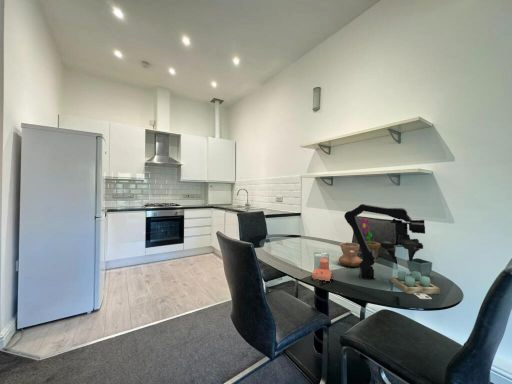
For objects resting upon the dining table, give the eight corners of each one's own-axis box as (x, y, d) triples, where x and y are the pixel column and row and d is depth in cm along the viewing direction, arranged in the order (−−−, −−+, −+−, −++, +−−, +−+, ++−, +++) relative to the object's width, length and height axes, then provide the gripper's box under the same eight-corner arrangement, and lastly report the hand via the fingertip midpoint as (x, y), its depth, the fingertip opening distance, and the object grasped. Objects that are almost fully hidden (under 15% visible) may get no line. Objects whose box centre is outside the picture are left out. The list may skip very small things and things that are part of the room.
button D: (423, 287, 107) (423, 279, 108) (418, 284, 111) (418, 276, 111) (432, 287, 107) (432, 279, 107) (426, 284, 111) (426, 276, 111)
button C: (414, 281, 114) (414, 273, 114) (410, 278, 118) (409, 271, 118) (422, 281, 114) (422, 273, 114) (418, 278, 118) (417, 271, 118)
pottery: (329, 283, 121) (329, 265, 121) (312, 280, 125) (311, 263, 125) (333, 272, 138) (332, 256, 138) (317, 270, 142) (317, 255, 142)
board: (406, 293, 106) (406, 288, 106) (390, 281, 121) (390, 276, 121) (440, 293, 105) (439, 288, 105) (419, 281, 120) (419, 276, 120)
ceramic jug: (365, 269, 140) (364, 247, 141) (340, 268, 143) (340, 246, 144) (358, 261, 158) (357, 241, 158) (336, 260, 161) (336, 241, 161)
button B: (408, 287, 108) (407, 278, 108) (403, 283, 112) (403, 275, 112) (416, 287, 108) (416, 279, 108) (411, 283, 112) (411, 275, 112)
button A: (400, 281, 115) (400, 273, 115) (396, 278, 119) (395, 271, 119) (408, 281, 115) (408, 273, 115) (404, 278, 119) (403, 271, 119)
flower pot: (421, 280, 121) (420, 263, 122) (406, 274, 130) (406, 259, 130) (433, 278, 124) (432, 262, 124) (418, 273, 132) (417, 257, 132)
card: (420, 298, 101) (420, 297, 101) (413, 294, 106) (413, 293, 106) (432, 299, 100) (432, 298, 100) (424, 294, 105) (424, 293, 105)
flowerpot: (355, 254, 174) (354, 216, 175) (371, 253, 177) (370, 215, 177) (368, 259, 160) (366, 218, 161) (385, 258, 163) (384, 217, 163)
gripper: (391, 234, 110) (391, 266, 110) (430, 234, 109) (431, 266, 109) (380, 231, 121) (380, 259, 121) (415, 230, 120) (416, 259, 120)
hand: (401, 261), depth 117 cm, fingers open, 8 cm apart
